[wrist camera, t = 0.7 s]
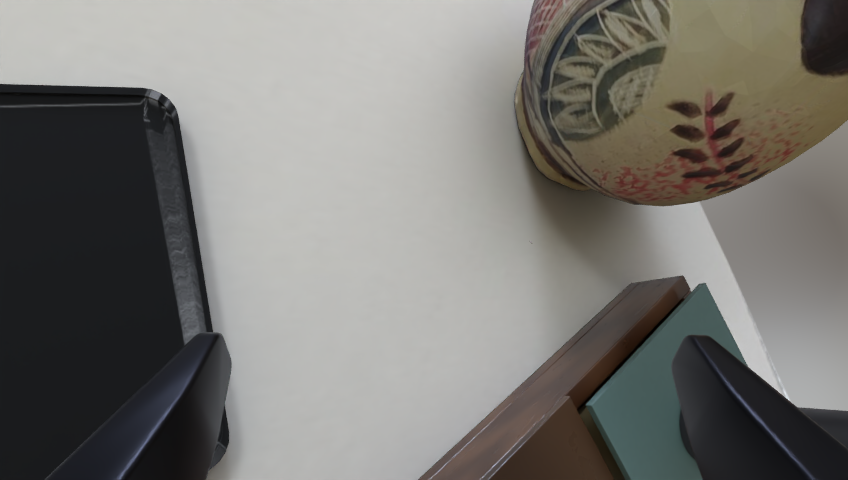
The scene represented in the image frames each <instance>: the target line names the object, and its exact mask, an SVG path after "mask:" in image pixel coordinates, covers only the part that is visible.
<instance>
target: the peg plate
mask: <svg viewBox="0 0 848 480" xmlns="http://www.w3.org/2000/svg"><path fill="white" fill-rule="evenodd" d="M687 335H708V336H710V337H712V338H713V339H714V340H716V341H717V342H718V343H719V344H720V345H722V346H723V347H724V348H725V349H727V350H728V351H729V352H730V353H731V354H733V355H734V356H735V357H736V358H738V359H739V360H740V361H741V362H742V363H744V364H745V365H746V366H747V364H746V362H745V360H744V358H743V356H742V354H741V352H740V350H739V348H738V346H737V344H736V342H735V340H734V338H733V336H732V334H731V332H730V330H729V328H728V327H727V325H726V323H725V321H724V319H723V317H722V315H721V313H720V311H719V309H718V307H717V305H716V303H715V301H714V299H713V297H712V295H711V293H710V291H709V289H708V287H707V285H706V283H703V284H699V285H698V286H697V287H696V288H695V289H694V290H693V291H692V292H691V293H690V294H689V295H688V297H687V298H686V299H685V300H684V301H683V302H682V303H681V304H680V305H679V306H678V307H677V308H676V309H675V310H674V311H673V312H672V313H671V315H670V316H669V317H668V318H667V319H666V320H665V321H664V322H663V323H662V324H661V325H660V326H659V327H658V328H657V329H656V330H655V332H654V333H653V334H652V335H651V336H650V337H649V338H648V339H647V340H646V341H645V342H644V343H643V344H642V345H641V346H640V347H639V349H638V350H637V351H636V352H635V353H634V354H633V355H632V356H631V357H630V358H629V359H628V360H627V361H626V362H625V363H624V364H623V366H622V367H621V368H620V369H619V370H618V371H617V372H616V373H615V374H614V375H613V376H612V377H611V378H610V379H609V380H608V381H607V383H606V384H605V385H604V386H603V387H602V388H601V389H600V390H599V391H598V392H597V393H596V394H595V395H594V396H593V397H592V398H591V400H590V401H589V402H588V403H587V404H586V407H587V409H588V411H589V413H590V414H591V416H592V418H593V420H594V422H595V424H596V426H597V427H598V429H599V431H600V433H601V435H602V437H603V439H604V440H605V442H606V444H607V446H608V448H609V450H610V452H611V454H612V455H613V457H614V459H615V461H616V463H617V465H618V467H619V468H620V470H621V472H622V474H623V476H624V478H625V480H703V479H702V476H701V473H700V470H699V468H698V465H697V462H696V460H695V457H694V454H693V451H692V448H691V445H690V442H689V438H688V435H687V431H686V427H685V423H684V419H683V415H682V411H681V407H680V403H679V399H678V395H677V391H676V387H675V383H674V379H673V375H672V371H671V364H672V360H673V358H674V356H675V354H676V352H677V350H678V348H679V346H680V344H681V342H682V340H683V339H684V337H686V336H687ZM747 367H748V366H747ZM797 408H798V407H797ZM799 409H800V410H801V411H802V412H803V413H805V414H806V415H807V416H808V417H810V418H811V419H812V420H813V421H814V422H816V423H817V424H818V425H819V426H821V427H822V428H823V429H824V430H825V431H827V432H828V433H829V434H830V435H832V436H833V437H834V438H835V439H836V440H838V441H839V442H840V443H841V444H843V445H844V446H845V447H846V448H847V449H848V411H838V410H825V409H812V408H799Z"/></svg>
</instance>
